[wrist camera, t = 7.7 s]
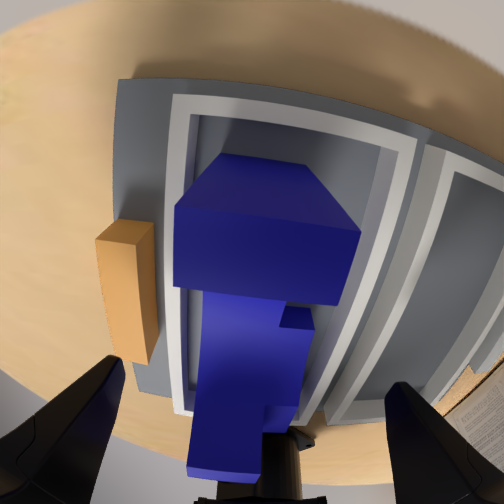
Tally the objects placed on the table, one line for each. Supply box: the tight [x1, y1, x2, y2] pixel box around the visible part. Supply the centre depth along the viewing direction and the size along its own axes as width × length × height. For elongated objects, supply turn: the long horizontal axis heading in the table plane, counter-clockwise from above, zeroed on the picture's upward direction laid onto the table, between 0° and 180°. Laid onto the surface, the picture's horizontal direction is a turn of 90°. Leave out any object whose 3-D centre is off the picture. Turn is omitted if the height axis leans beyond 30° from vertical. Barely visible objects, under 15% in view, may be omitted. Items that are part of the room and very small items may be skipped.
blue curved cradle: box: [173, 153, 362, 483], centre depth 10 cm, size 12×4×6 cm, turn 172°
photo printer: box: [444, 363, 504, 473], centre depth 13 cm, size 10×4×12 cm, turn 154°
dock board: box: [95, 78, 504, 426], centre depth 12 cm, size 22×17×3 cm
